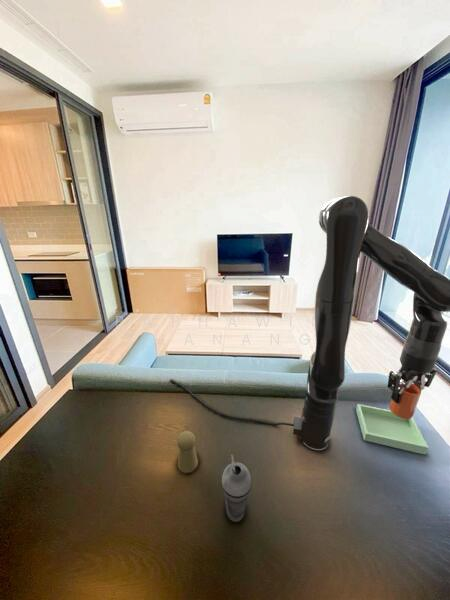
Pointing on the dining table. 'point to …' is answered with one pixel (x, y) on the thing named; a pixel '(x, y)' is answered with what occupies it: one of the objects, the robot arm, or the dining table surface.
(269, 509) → the dining table surface
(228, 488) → the beverage cup
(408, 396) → the terracotta cup
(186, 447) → the beige pawn figure
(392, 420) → the tray
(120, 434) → the dining table surface
